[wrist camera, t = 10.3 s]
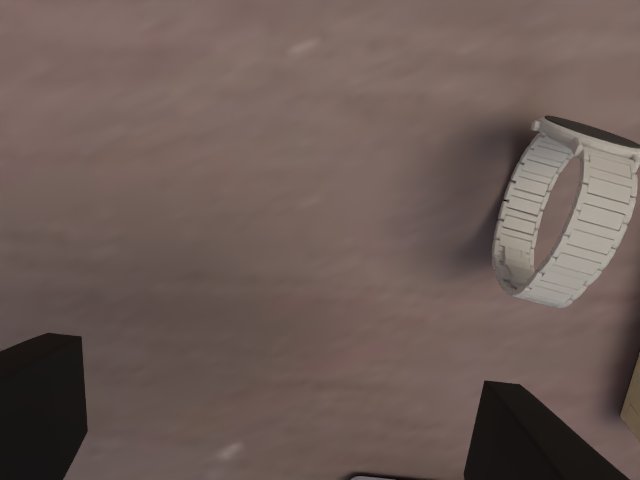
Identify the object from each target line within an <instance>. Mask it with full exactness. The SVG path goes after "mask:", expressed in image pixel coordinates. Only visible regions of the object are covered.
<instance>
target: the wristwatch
mask: <svg viewBox="0 0 640 480" xmlns="http://www.w3.org/2000/svg"><path fill="white" fill-rule="evenodd" d="M531 130H534V131H539V132H541V133H538V134H537V135H536V136H535V138H534V139H533V140H532V141H531V143H530V146H528V147H527V148H526V150H525V151H524V153H523V154H522V156H521V158H520V162H518V163H517V165H516V167H515V169H514V172H513V174H512V176H511V180H512V181H514V182H512V181H510V182H509V184H508V186H507V189H506V192H505V195H504V200H508V201H507V202H506V201H503V202H502V205H501V208H500V212H499V216H498V219H500V220H502V221H500V220H498V221H497V224H496V229H495V233H494V239H495V240H493V244H492V257H493V258H492V266H493V270H494V271H496V272H495V274H496V277H497V279H498V281H499V284H500V285H501V287H502V288H503V290H505V291H506V293H507V294H508V295H511V296H514V297H518V298H522V299H525V300H529V301H533V302H537V303H540V304H544V305H548V306H551V307H555V308H559V307H560V308H564V307H566V306H568V305H570V304H571V303H572V302H573V300H575V299H577V298H578V297H579V296H580V295H581V294H582V293H583V292H584V291H585V289H586V288H587V285H590V284H592V283H593V282H594V281H595V280H596V279H597V278H598V277H599V276H600V274H601V272H602V270H603V269H604V268H606V266H607V265H608V263H609V262H610V260H611V258H612V257H613V255H614V254H615V250H616V249H615V248H617V247H618V246H619V244H620V242H621V240H622V238H623V236H624V233H625V231H626V229H627V225H626V224H623V223H627V224H628V223H629V221H630V219H631V216H632V213H633V210H634V206H635V203H636V199H635V198H634V197H636V195H637V175H635V173H636V171H637V169H638V167H639V165H640V160H639V159H640V145H639V144H637V143H635V142H633V141H630V140H628V139H625V138H623V137H620V136H617V135H615V134H612V133H609V132H606V131H603V130H600V129H597V128H594V127H591V126H588V125H584V124H581V123H578V122H574V121H570V120H566V119H562V118H558V117H553V116H545V117H542V118H540V119H539V121H533V123H532V125H531ZM573 156H574V157H579V156H580V161H581V164H580V178H579V183H580V185H579V186H578V190H577V193H576V196H575V200H574V203H573V207H572V208H573V209H575V210H571V211H570V214H569V216H568V218H567V221H566V223H565V226H564V228H563V230H562V233H563V234H562V233H561V234H560V236H559V238H558V240H557V242H556V243H555V245H554V247H553V249H552V250H551V252H550V253H551V255H550V254H549V255H548V256H547V257H546V259H545V260H544V261H543V262H542V263H541V265H540V266H539V267H538V270H536V271H535V269H534V267H533V265H534V250H533V249H534V248H535V244H536V239H537V235H538V231H536V230H537V229H539V226H540V222H541V218H542V215H543V212H542V211H539V209H540V210H544V208H545V205H546V203H547V200H548V197H549V195H550V192H548V191H546V190H550V191H551V190H552V188H553V186H554V184H555V182H556V180H557V178H558V176H559V173H561V172H562V170H563V169H564V167H565V166H566V165H567V163H568V162H569V160H570V158H572V157H573ZM515 188H517V189H515ZM519 189H520V190H519ZM522 190H524V191H522ZM526 191H528V192H526ZM530 192H531V193H530ZM533 193H535V194H533ZM537 194H539V195H537ZM511 195H512V196H511ZM540 195H542V196H540ZM514 196H515V197H514ZM517 197H519V198H517ZM521 198H523V199H521ZM525 199H526V200H525ZM528 200H530V201H528ZM532 201H533V202H532ZM536 202H537V203H536ZM507 207H508V208H507ZM509 208H512V209H509ZM513 209H515V210H513ZM516 210H519V211H516ZM576 210H577V211H576ZM520 211H523V212H520ZM524 212H526V213H524ZM527 213H530V214H527ZM531 214H534V215H531ZM507 215H508V216H507ZM514 217H515V218H514ZM525 220H526V221H525ZM532 222H533V223H532ZM622 222H623V223H622ZM534 229H536V230H534ZM496 239H497V240H496ZM601 269H602V270H601Z"/></svg>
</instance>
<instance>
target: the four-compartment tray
mask: <svg viewBox="0 0 640 480" xmlns="http://www.w3.org/2000/svg"><path fill="white" fill-rule="evenodd" d="M620 417H621V418H622V420H623V421H625V423H626V424H627V426H628V427H629V428H630V430H631V431H632V432H633V434H634V435H635V436H636V438H637V439H638V440H639V442H640V354H639V357H638V360H637V363H636V366H635V370H634V373H633V376H632V379H631V382H630V386H629V389H628V392H627V395H626V398H625V402H624V405H623V408H622V411H621V414H620Z"/></svg>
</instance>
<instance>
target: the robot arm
mask: <svg viewBox="0 0 640 480" xmlns="http://www.w3.org/2000/svg"><path fill="white" fill-rule="evenodd" d="M87 431H88V429H87V413H86V398H85V383H84V368H83V353H82V337H81V336H72V335H63V334H54V333H46V334H43V335H40V336H37V337H34V338H32V339H29V340H27V341H24V342H22V343H19V344H17V345H14V346H12V347H10V348H7V349H5V350H3V351H0V480H63V478H64V477H65V475H66V473H67V471H68V469H69V467H70V465H71V463H72V462H73V460H74V458H75V456H76V454H77V452H78V450H79V448H80V446H81V443H82V441H83V439H84V437H85V435H86V433H87ZM464 479H465V480H630V479H628V478H627V477H626V476H625V475H624V474H622V473H621V472H620V471H619V470H618V469H616V468H615V467H614V466H613V465H612V464H611V463H609V462H608V461H607V460H606V459H605V458H604V457H602V456H601V455H600V454H599V453H598V452H597V451H596V450H594V449H593V448H592V447H591V446H590V445H589V444H588V443H586V442H585V441H584V440H583V439H582V438H581V437H580V436H579V435H577V434H576V433H575V432H574V431H573V430H572V429H571V428H570V427H568V426H567V425H566V424H565V423H564V422H563V421H562V420H561V419H560V418H558V417H557V416H556V415H555V414H554V413H553V412H552V411H551V410H549V409H548V408H547V407H546V406H545V405H544V404H543V403H542V402H540V401H539V400H538V399H537V398H536V397H535V396H533V395H532V394H531V393H530V392H529V391H527V390H526V389H525V388H524V387H522V386H521V385H520V384H512V383H503V382H494V381H485V380H484V385H483V389H482V394H481V398H480V403H479V407H478V412H477V416H476V421H475V425H474V430H473V434H472V439H471V443H470V448H469V452H468V457H467V461H466V466H465V470H464ZM351 480H394V479H385V478H375V477H366V476H356V477H354V478H352V479H351Z"/></svg>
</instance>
